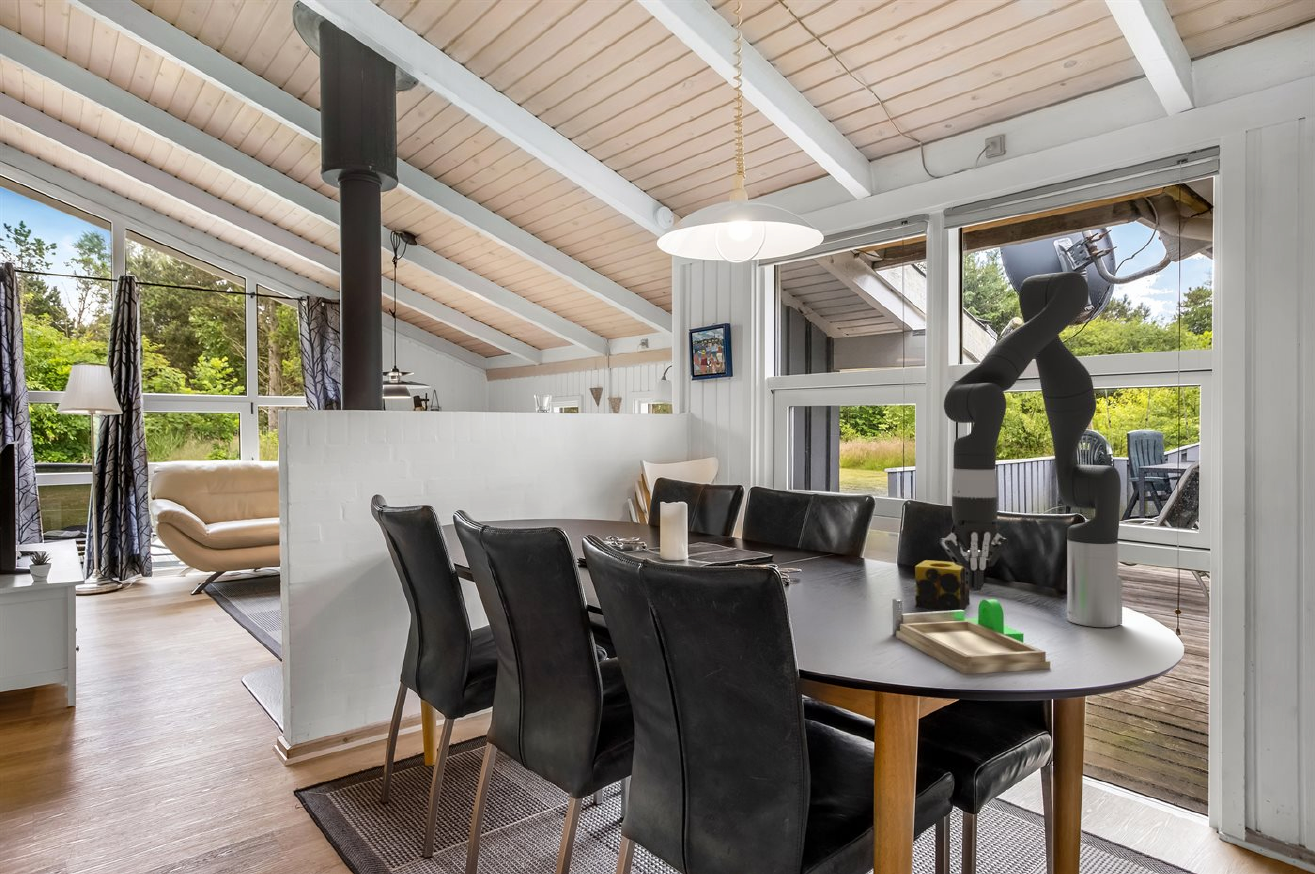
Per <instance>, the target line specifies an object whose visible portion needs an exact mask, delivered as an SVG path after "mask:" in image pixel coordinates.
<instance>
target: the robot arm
mask: <svg viewBox="0 0 1315 874" xmlns="http://www.w3.org/2000/svg"><path fill="white" fill-rule="evenodd" d="M1089 297H1090V293H1089V285H1088V282H1087V280H1086V278H1085V277H1084V276H1083V275H1082V274H1081V273H1080V272H1079V273H1078V272H1077V271H1076V272H1075V271H1063V272H1052V273H1047V274H1044V273H1043V274H1037V275H1036V274H1035V275H1032V276H1029V277H1027V278H1025V279H1024V280H1023V281H1022V282H1021V285H1020V288H1019V292H1018V303H1019V308H1020V314H1021V317H1022V320H1023V324H1022V325H1019V326H1018V327H1016V328H1015V329H1013V330H1012V331H1010V332H1009V333H1007V334H1006V335H1004V336H1003V337H1002V338H1000V339H999V340H998V341H997V342H996V343H995V344H994V345H993V346H992V347H991V348H990V350H989V351H988V353H987V354H986V355H985V357H984V358H983V359H982V360H981V361H980V363H979V364H978V365H977V366H975V367H973V369H971V370H970V371H968V372H967V373H966V374H965V375H963V376H961V377H960V378H959V379H958V380H956V381H955V383H954V384H952V386H951V387H950V388H949V389H948V390H947V392H946V394H945V397H944V400H943V410H944V414H945V415H946V416H947V418H948V419H950V421H953V422H955V423H960V424H971V423H972V424H973V426H972V428H971V431H970V433H969V434H967V435H964V436H960V437H958V438H956V439H955V440H954V443H953V471H952V478H951V479H952V480H951V516H952V517H951V518H952V521H953V522H952V526H951V529H950V533H949V534H948V535H947V536H946V537H941V538H940V539H939V544H940V545H941V546H942V548H943V549H944V552H945V553H947V555H948V556H949V558H950V559H951V560H952V562H954V563H955V564H956V565H959V566H962V567H963V568H964V569H965V586H967V588H968V590H969V591H971V592H977V591H978V592H979V591H981V590H982V588H983V587H984V582H985V581H984V576H985V575H984V571H985V569H986V568H988V567H993V566H994V565H995V564H996V563H997V561H998V559H999V558H1000V557H1001V556H1002V554H1003V553H1004V551H1005V549H1006V548H1007V547H1008V545H1009V543H1010V541H1009V539H1008V538H1005V537H1003V536H1002V535H1001V534H1000V533H999V530H998V527H997V525H996V522H997V520H998V479H997V473H996V469H997V468H996V466H997V465H996V451H997V450H996V448H997V443H998V441H999V438H1000V434H1001V433H1000V432H1001V429H1002V425H1003V423H1004V419H1005V416H1006V412H1007V400H1006V395H1005V393H1004V392H1006V391H1008V390H1010V389H1011V388H1012V387H1013V386H1014V385H1015V384H1016V382H1017V381H1018V379H1019V378H1020V377H1021V375H1022V374H1023V373H1024V372H1025V370H1026V369H1027V368H1028V366H1029V365H1030V364H1031V362H1032V361H1033V360H1035V363H1036V364H1035V365H1036V368H1037V372H1038V373H1037V374H1038V376H1039V377H1038V378H1039V382H1040V388H1041V396H1042V398H1043V399H1042V400H1043V405H1044V409H1045V413H1046V417H1047V420H1048V425H1049V431H1050V435H1051V441H1052V446H1053V451H1054V452H1053V454H1054V455H1053V456H1054V461H1055V470H1056V471H1055V472H1056V482H1057V487H1058V493H1059V496H1060V498H1061V501H1062V503H1063V504H1064V505H1065V506H1068V507H1070V508H1078V509H1090V510H1091V509H1092V510H1095V514H1094V517H1093V518H1091V519H1089V520H1088V521H1084V522H1081V523H1076V524H1072V525H1070V526H1068V528H1067V533H1066V534H1067V540H1066V541H1067V544H1066V546H1067V547H1066V548H1067V549H1066V550H1067V551H1066V553H1067V554H1066V555H1067V560H1066V561H1067V563H1066V564H1067V565H1066V566H1067V567H1066V568H1067V572H1066V573H1067V576H1066V577H1067V582H1066V583H1067V584H1066V585H1067V587H1066V588H1067V602H1066V603H1067V609H1066V611H1067V613H1066V614H1067V621H1069V622H1070V623H1073V624H1076V625H1080V626H1086V627H1094V628H1113V627H1114V628H1115V627H1117V626H1119V625H1123V579H1122V578H1120V577H1119V555H1118V554H1119V543H1118V542H1119V537H1118V536H1119V529H1120V505H1121V495H1122V493H1121V492H1122V490H1121V489H1122V484H1121V482H1122V481H1121V476H1120V473H1119V471H1118V470H1117V469H1116V467H1114V466H1112V465H1101V464H1100V465H1098V464H1097V465H1096V464H1080V463H1079V461H1078V446H1079V443H1080V441H1081V439H1082V438H1083V435H1084V434H1085V432H1086V430H1087V429H1088V427H1089V426H1090V423H1091V422H1092V420H1093V418H1094V417H1095V413H1096V411H1097V401H1096V393H1095V389H1094V383H1093V379H1092V376H1091V374H1090V373H1089V371H1088V370H1087V368H1086V367H1085V366H1084V364H1083V363H1082V362H1081V361H1080V360H1079V359H1078V358H1077V357H1076V356H1075V354H1073V353H1072V351H1070V350H1069V349H1068V347H1067V346H1066V345H1065V343H1064V342H1063V340H1062V339H1061V337H1060V334H1061V333H1062V332H1063V331H1064V330H1065V329H1066V328H1067V327H1069V326H1070V325H1071V324H1073V322H1075V320H1077V319H1078V317H1079V316H1080V315H1081V314H1082V313H1083V312H1084V310H1085V309H1086V307H1087V304H1088V301H1089ZM958 545H959V548H960V549H959V548H958V547H957V546H958Z"/></svg>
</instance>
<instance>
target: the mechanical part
mask: <svg viewBox="0 0 1315 874" xmlns="http://www.w3.org/2000/svg"><path fill="white" fill-rule="evenodd" d="M977 614H978V615H977V618H976V617H975V618H965V621H967V620H970V621H972V622H975V623H977V624H979V625H982V626H984V627H987V628H989V629H991V630H994V631H996V632H999V633H1001V634H1004V635H1006V636H1008V637H1011V638H1013V639H1016V640H1018V641H1020V642H1023V643H1024V633H1023V632H1021V631H1019V630H1017V629H1013V628H1012V627H1009V626H1007V625H1005V619H1004V617H1005V616H1004V614H1005V613H1004V610H1003V607H1002V605H1001V602H999V600H997V599H995V598H991V599H982V600H980V602H979V604H978V611H977Z"/></svg>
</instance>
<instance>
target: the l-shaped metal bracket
mask: <svg viewBox="0 0 1315 874" xmlns="http://www.w3.org/2000/svg"><path fill="white" fill-rule="evenodd" d="M965 613H966V611H965V609H964V610H951V611H944V610H938V611H937V610H936V611H926V612H925V611H924V612H909V613H903V599H901V598H893V599H892V636H895V637H896V631H900V624H910V623H929V622H948V621H965V619H966V615H965Z"/></svg>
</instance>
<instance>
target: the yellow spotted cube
mask: <svg viewBox="0 0 1315 874" xmlns="http://www.w3.org/2000/svg"><path fill="white" fill-rule="evenodd" d="M914 573H915V577H914V580H915V589H916V590H915V593H916V594H915V597H914V598H915V599H914V600H915V608H922V609H923V608H924V609H928V610H929V609H930V610H936V611H937V610H938V611H951V610H964V611H965V610H966V609H967V606H969V605H970V604H971V601H970V600H971V599H970V590H968V588H967V586H965V569H964V568H963V567H962V566H959V565H956V564H955V563H954V562H953V561H944V560H928V559H926V560H923V561H921V562H919V563H918V564H917V565H915V566H914Z"/></svg>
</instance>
